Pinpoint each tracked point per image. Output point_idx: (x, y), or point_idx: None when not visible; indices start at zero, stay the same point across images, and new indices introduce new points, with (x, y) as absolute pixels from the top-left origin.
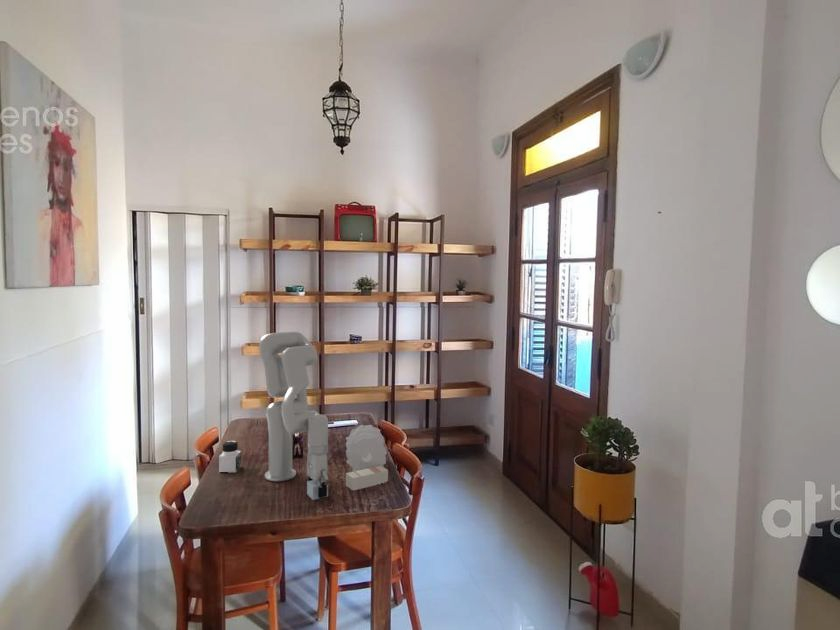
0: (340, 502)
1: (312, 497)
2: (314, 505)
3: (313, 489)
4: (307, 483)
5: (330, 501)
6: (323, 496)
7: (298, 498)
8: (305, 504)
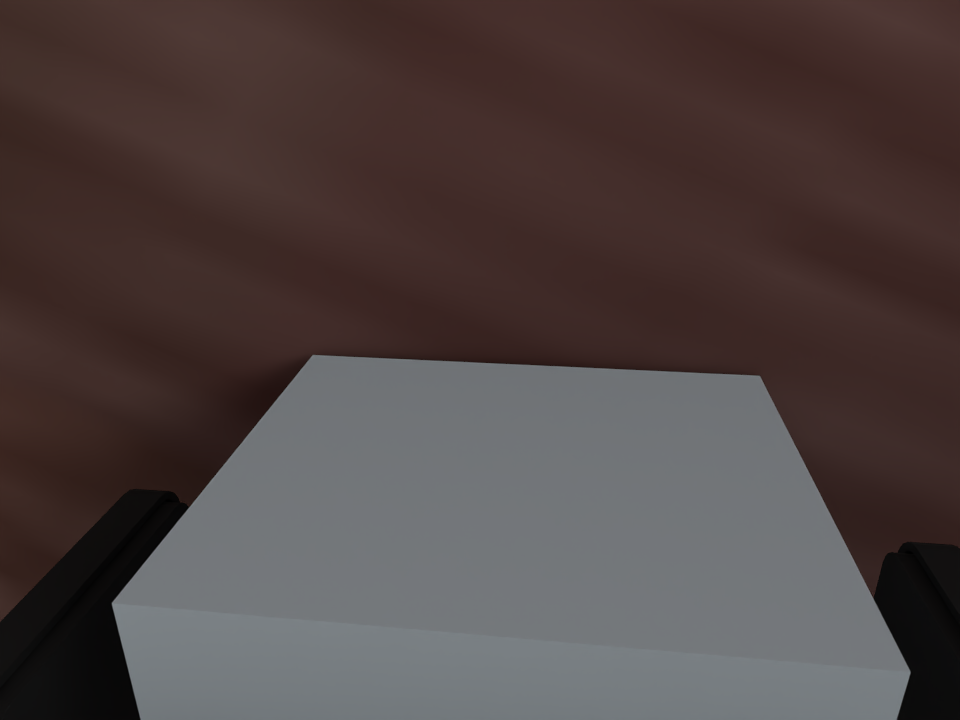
0: None
1: (332, 380)
2: (20, 264)
3: (180, 543)
4: (828, 604)
5: None
6: None
7: (665, 45)
8: (156, 78)
